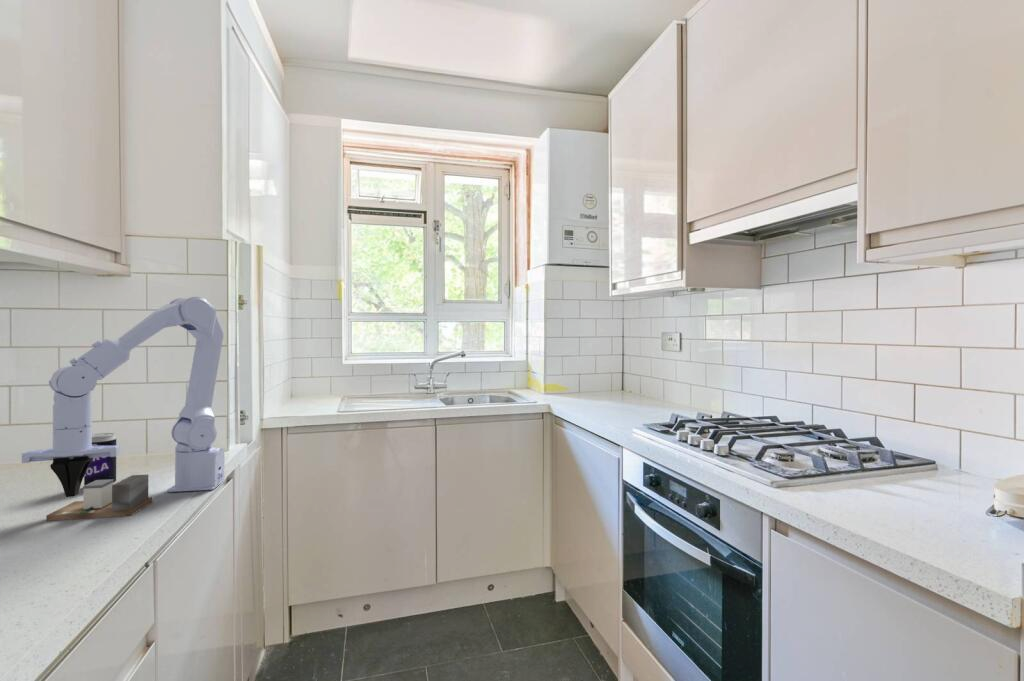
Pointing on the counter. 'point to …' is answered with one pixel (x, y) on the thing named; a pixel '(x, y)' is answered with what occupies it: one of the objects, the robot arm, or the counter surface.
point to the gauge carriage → (97, 494)
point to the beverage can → (101, 460)
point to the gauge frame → (124, 502)
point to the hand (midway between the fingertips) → (72, 495)
